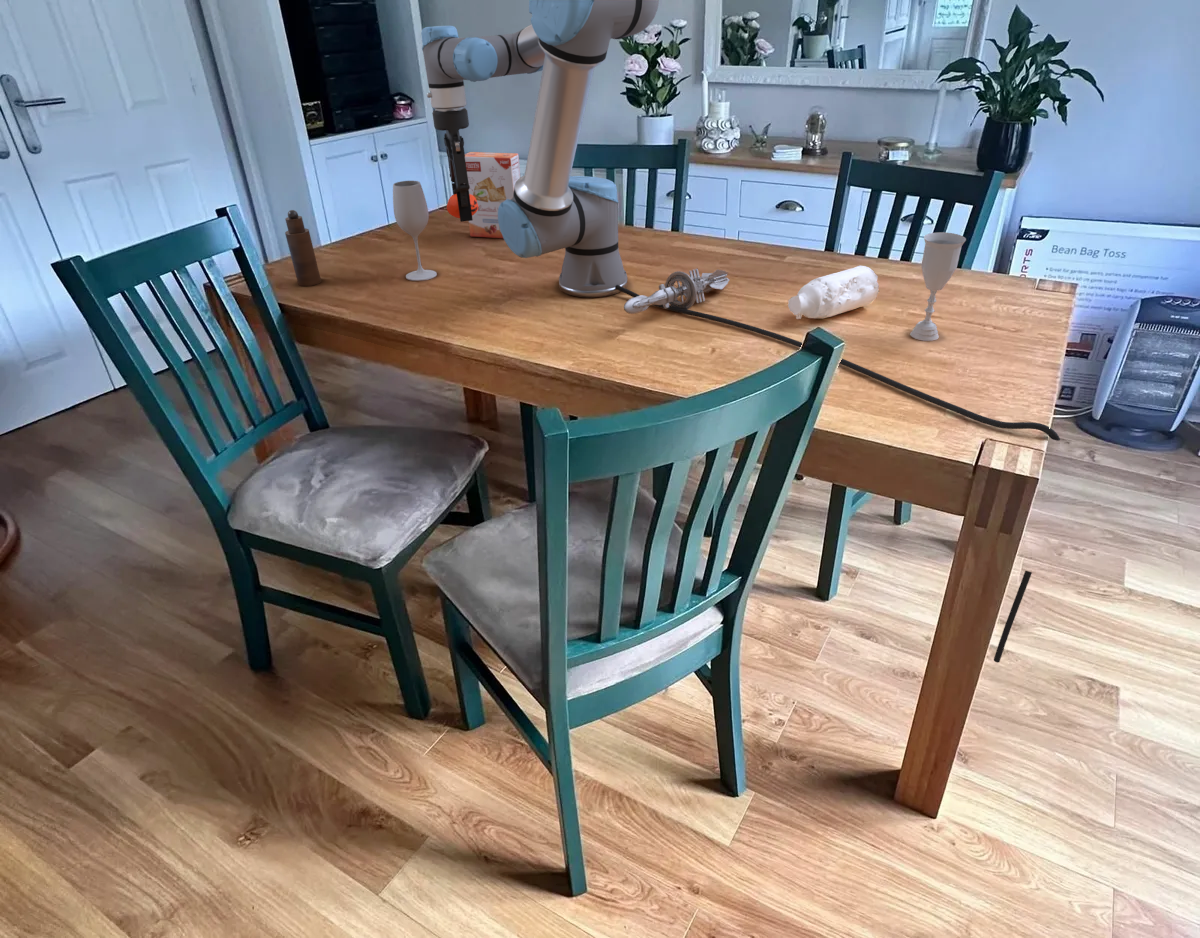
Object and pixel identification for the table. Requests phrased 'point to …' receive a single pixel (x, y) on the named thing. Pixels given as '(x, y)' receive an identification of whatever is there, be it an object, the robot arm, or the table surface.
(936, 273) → the chalice
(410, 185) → the wineglass
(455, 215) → the pumpkin
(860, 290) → the white bottle
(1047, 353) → the table surface
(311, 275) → the pepper mill
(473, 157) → the cracker box
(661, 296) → the spaceship
